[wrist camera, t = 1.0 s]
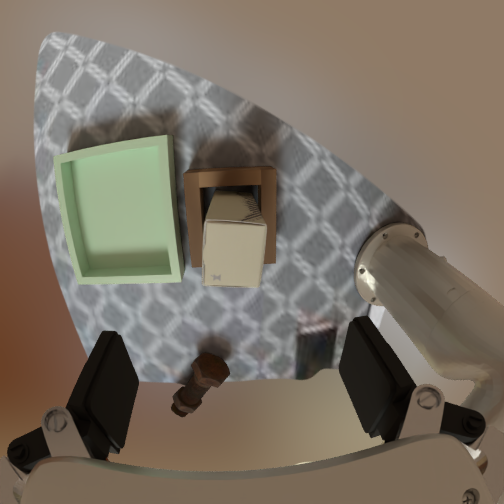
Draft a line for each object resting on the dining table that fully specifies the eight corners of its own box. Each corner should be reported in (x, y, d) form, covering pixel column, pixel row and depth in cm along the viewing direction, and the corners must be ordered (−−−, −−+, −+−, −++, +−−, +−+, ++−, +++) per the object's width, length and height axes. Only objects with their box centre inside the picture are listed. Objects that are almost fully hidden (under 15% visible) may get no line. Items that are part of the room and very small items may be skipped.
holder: (270, 166, 29) (276, 169, 26) (270, 250, 33) (275, 263, 30) (188, 169, 28) (183, 173, 25) (195, 254, 32) (192, 267, 29)
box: (248, 234, 32) (261, 293, 20) (210, 232, 31) (200, 290, 20) (252, 189, 30) (270, 224, 18) (213, 187, 29) (202, 219, 18)
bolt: (177, 393, 45) (210, 346, 40) (197, 411, 44) (235, 367, 39) (158, 409, 40) (189, 364, 35) (180, 428, 38) (217, 387, 33)
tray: (173, 135, 27) (167, 134, 24) (185, 270, 33) (181, 282, 30) (66, 154, 26) (53, 156, 23) (87, 273, 32) (78, 284, 29)
